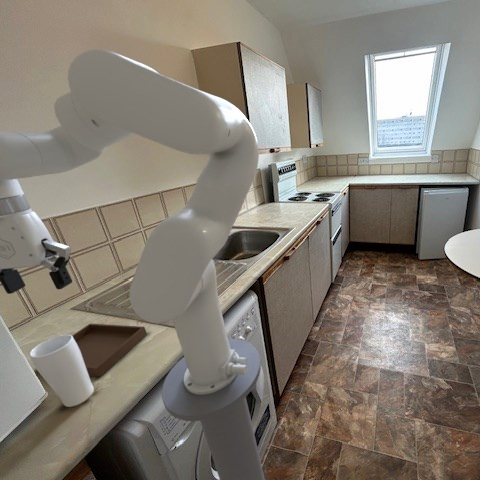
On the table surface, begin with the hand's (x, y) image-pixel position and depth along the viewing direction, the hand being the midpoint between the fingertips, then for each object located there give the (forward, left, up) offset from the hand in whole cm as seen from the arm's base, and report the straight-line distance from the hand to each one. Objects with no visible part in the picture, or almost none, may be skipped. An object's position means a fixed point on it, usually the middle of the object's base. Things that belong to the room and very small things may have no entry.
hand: (41, 288), depth 55 cm
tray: (+7, -9, -26) cm, 28 cm away
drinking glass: (-3, +4, -26) cm, 26 cm away
